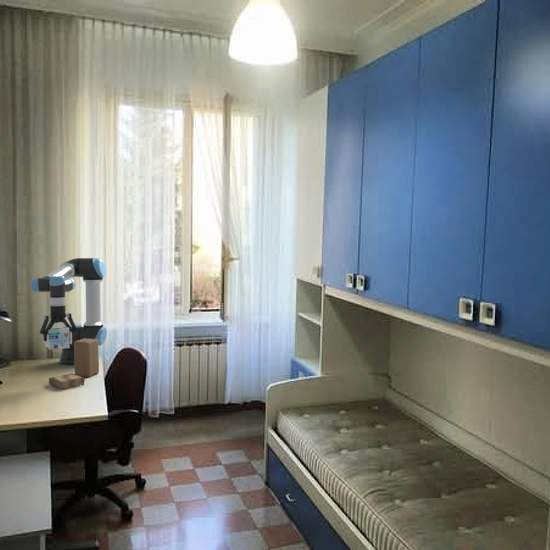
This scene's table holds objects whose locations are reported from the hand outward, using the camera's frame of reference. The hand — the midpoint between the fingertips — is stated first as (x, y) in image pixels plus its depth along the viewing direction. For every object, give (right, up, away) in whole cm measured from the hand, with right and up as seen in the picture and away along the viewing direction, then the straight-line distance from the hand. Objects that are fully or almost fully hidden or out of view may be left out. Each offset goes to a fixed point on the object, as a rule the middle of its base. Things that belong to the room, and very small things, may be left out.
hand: (58, 345), depth 302 cm
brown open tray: (+5, -21, -1) cm, 22 cm away
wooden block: (+8, -20, +20) cm, 29 cm away
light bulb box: (0, -2, 0) cm, 2 cm away
